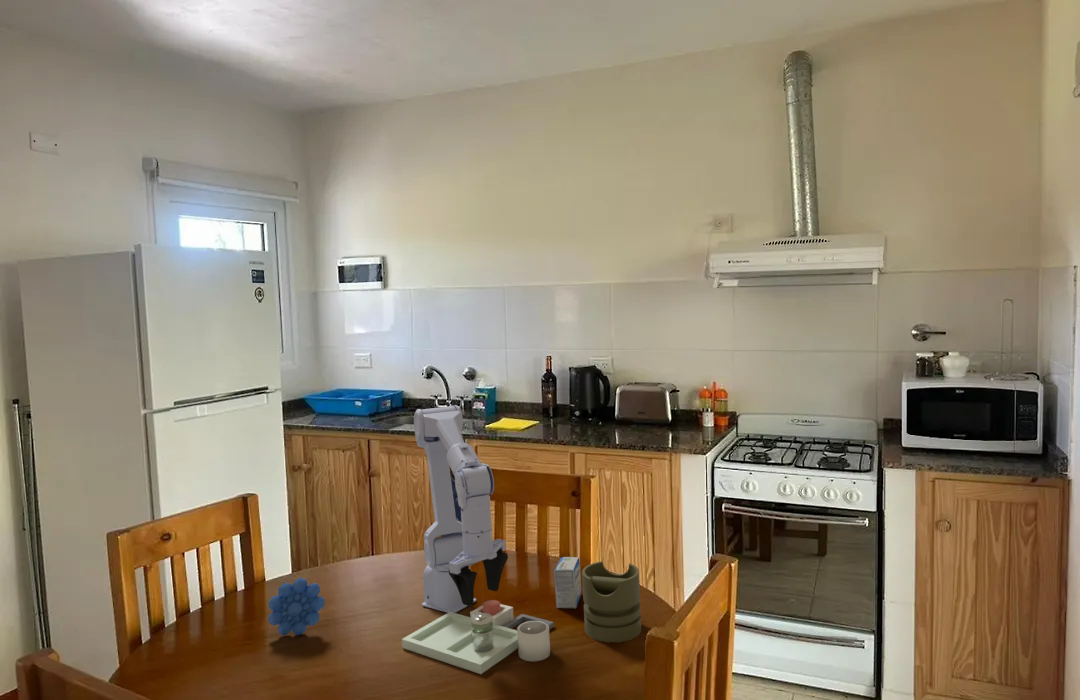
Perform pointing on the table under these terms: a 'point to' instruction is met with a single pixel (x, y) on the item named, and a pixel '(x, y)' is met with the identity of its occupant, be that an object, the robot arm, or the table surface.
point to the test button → (491, 607)
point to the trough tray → (460, 643)
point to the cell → (482, 632)
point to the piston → (611, 603)
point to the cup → (533, 641)
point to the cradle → (526, 619)
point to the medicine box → (567, 582)
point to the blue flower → (296, 607)
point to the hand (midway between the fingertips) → (480, 597)
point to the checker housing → (498, 615)
